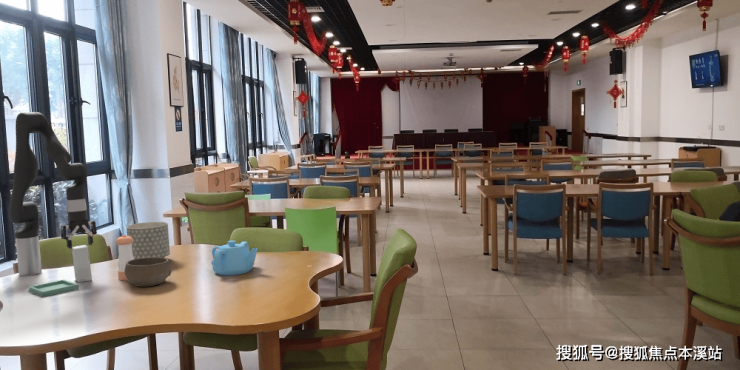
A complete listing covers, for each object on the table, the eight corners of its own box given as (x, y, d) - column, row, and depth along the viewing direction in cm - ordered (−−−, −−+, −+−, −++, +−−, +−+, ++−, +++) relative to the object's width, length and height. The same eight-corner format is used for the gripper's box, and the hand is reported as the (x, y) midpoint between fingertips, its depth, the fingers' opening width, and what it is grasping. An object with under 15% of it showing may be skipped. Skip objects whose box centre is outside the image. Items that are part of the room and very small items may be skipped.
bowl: (179, 279, 260) (177, 256, 259) (151, 291, 243) (150, 266, 242) (146, 277, 266) (144, 255, 265) (116, 288, 249) (115, 264, 248)
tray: (29, 291, 249) (28, 286, 249) (64, 283, 260) (63, 279, 260) (42, 297, 240) (42, 292, 240) (78, 288, 251) (78, 284, 250)
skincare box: (92, 280, 264) (89, 246, 262) (77, 283, 261) (74, 248, 259) (89, 276, 271) (86, 244, 269) (74, 279, 268) (71, 245, 266)
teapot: (214, 278, 260) (212, 246, 259) (209, 269, 278) (207, 239, 277) (259, 273, 267) (257, 242, 265) (251, 264, 285) (250, 235, 283)
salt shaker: (140, 276, 268) (136, 233, 266) (127, 280, 262) (123, 236, 260) (127, 275, 271) (124, 232, 269) (114, 279, 265) (111, 235, 263)
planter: (155, 255, 311) (152, 220, 309) (178, 259, 300) (175, 223, 298) (121, 263, 296) (118, 226, 294) (144, 267, 285) (141, 229, 283)
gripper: (89, 207, 270) (92, 243, 272) (56, 211, 260) (59, 248, 261) (97, 208, 266) (100, 244, 267) (63, 212, 255) (67, 250, 256)
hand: (80, 246), depth 264 cm, fingers open, 8 cm apart
